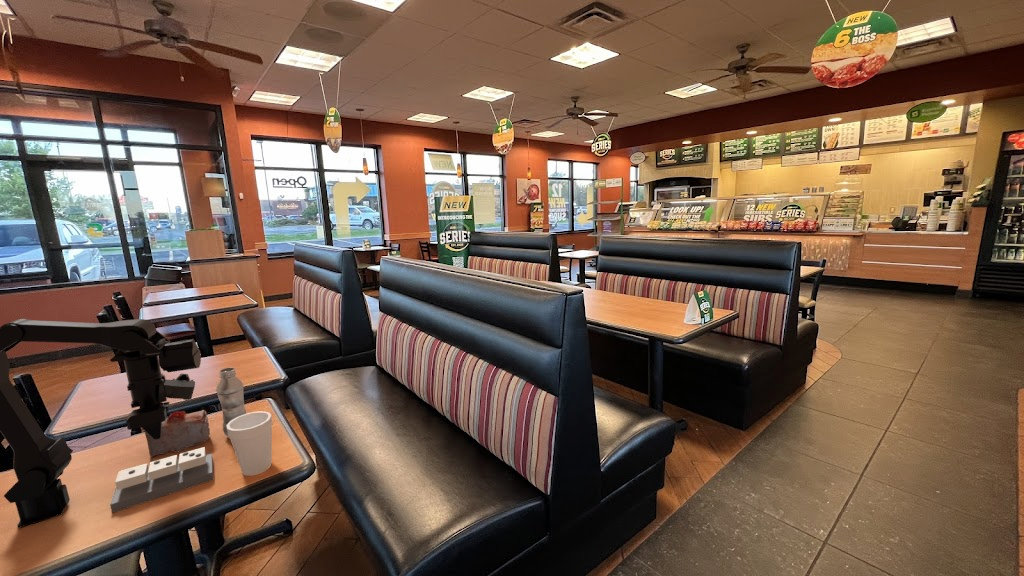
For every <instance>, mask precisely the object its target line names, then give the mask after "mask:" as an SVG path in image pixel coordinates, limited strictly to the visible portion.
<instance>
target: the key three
mask: <svg viewBox="0 0 1024 576" xmlns="http://www.w3.org/2000/svg"><path fill="white" fill-rule="evenodd" d="M206 453H207V452H206V447H205V446H204V447H200V448H196V449H192V450H189V451H185V452H180V453H179V456H178V464H179V469H180V471H183V470H186V469H189V468H193V467H196V466H199V465H203V464H206V455H207V454H206Z"/></svg>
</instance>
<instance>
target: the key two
mask: <svg viewBox="0 0 1024 576" xmlns="http://www.w3.org/2000/svg"><path fill="white" fill-rule="evenodd" d="M178 463H179V456H178V455H177V454H175V455H171V456H166V457H164V458H160V459H157V460H153V461H151V462H150V463H149V465H148V468H149V470H148V476H149V481H150V480H153V479H156V478H160V477H163V476H166V475H170V474H173V473H176V472H177V470H178Z"/></svg>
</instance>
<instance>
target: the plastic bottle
mask: <svg viewBox="0 0 1024 576" xmlns="http://www.w3.org/2000/svg"><path fill="white" fill-rule="evenodd" d="M219 378H220V381H219V382H218V384H217V386H216V389H215V392H216V394H217V397H218V400H219V403H220V407H221V411H222V431H223V434H224V436H226V437H227V438H229V436H228V432H227V426H226V425H227V424H228V423H229V422H230V421H231V420H233V419H235V418H236V417H238V416H241V415H244V414H247V411H246V407H245V399H244V398H245V397H244V388H245V387H244V383H243V382H242V380H240V378H238V377H237V373H236V368H235V367H226V368H222V369H219Z"/></svg>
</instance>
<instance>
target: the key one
mask: <svg viewBox="0 0 1024 576" xmlns="http://www.w3.org/2000/svg"><path fill="white" fill-rule="evenodd" d="M148 470H149V464H148V462H147V463H144V464H140V465H136V466H135V465H134V466H133V467H130V468H125V469H122V470H119V471H118V473H117V476H116V479H115V482H114V483H115V489H116V488H117V490H120V489H123V488H127V487H130V486H133V485H136V484H140V483H143V482H146V481H147V478H148Z"/></svg>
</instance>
